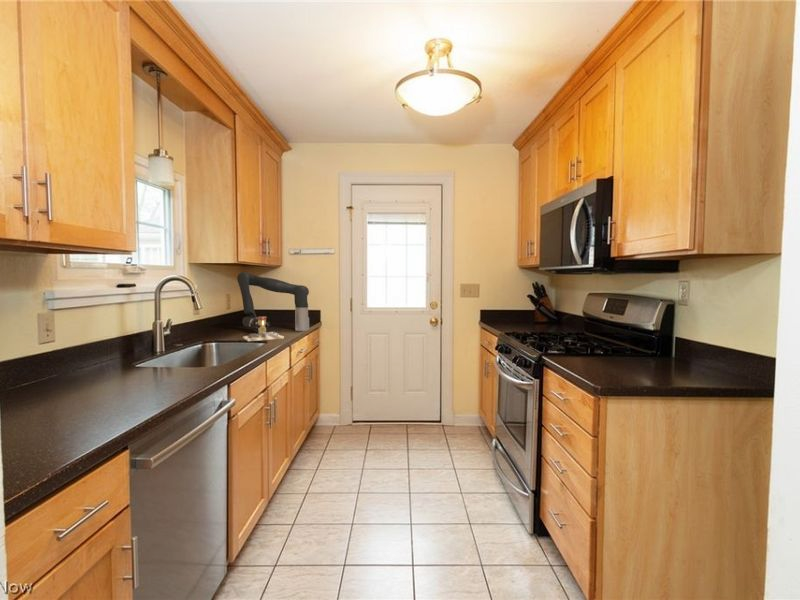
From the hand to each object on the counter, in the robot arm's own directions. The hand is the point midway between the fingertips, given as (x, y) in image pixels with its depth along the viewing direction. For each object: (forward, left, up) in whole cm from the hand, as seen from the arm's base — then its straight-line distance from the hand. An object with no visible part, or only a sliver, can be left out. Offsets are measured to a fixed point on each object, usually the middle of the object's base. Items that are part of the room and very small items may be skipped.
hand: (263, 325), depth 265 cm
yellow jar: (0, -3, -7) cm, 7 cm away
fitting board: (+3, +11, -7) cm, 14 cm away
